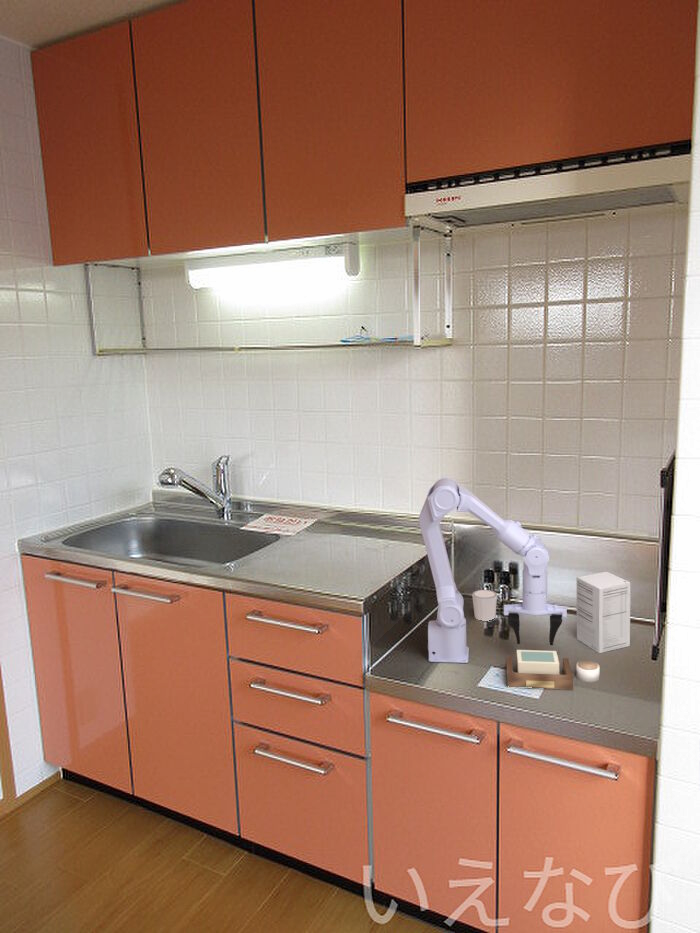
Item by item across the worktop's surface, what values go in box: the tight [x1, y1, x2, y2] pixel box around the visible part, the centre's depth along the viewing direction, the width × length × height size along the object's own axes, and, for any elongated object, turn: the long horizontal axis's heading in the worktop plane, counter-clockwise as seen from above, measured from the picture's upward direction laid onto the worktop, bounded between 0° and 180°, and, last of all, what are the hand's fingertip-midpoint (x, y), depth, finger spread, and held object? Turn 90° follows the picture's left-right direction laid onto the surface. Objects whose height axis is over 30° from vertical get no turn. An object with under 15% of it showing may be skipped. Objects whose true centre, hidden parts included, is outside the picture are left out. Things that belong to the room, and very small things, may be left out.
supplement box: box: [576, 571, 631, 654], centre depth 172 cm, size 10×9×17 cm
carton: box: [516, 649, 560, 675], centre depth 159 cm, size 9×6×4 cm
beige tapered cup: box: [471, 589, 498, 622], centre depth 192 cm, size 7×7×7 cm
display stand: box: [505, 655, 574, 691], centre depth 157 cm, size 14×9×3 cm
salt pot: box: [575, 659, 601, 683], centre depth 157 cm, size 5×5×3 cm
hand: (534, 643), depth 167 cm, fingers open, 7 cm apart
